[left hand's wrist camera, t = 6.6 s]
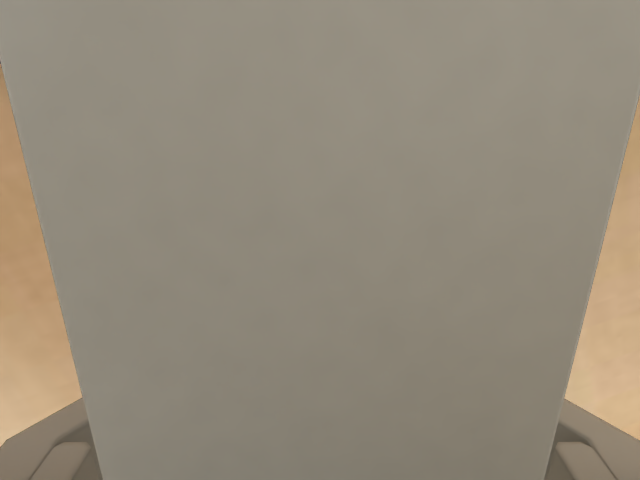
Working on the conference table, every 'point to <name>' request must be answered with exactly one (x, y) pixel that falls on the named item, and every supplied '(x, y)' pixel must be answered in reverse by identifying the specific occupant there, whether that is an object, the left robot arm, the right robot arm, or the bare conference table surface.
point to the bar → (323, 224)
